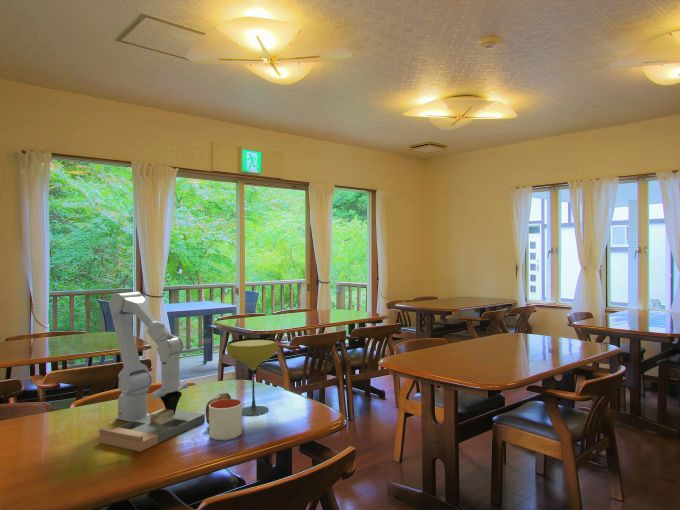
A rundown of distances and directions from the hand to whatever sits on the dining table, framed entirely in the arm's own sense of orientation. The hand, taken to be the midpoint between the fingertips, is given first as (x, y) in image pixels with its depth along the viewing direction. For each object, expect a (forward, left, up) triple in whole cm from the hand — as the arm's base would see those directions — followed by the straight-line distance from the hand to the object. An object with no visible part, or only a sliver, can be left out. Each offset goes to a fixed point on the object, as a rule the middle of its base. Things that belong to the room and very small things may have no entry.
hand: (171, 414), depth 157 cm
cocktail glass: (+17, +22, -3) cm, 28 cm away
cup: (+23, -1, -3) cm, 24 cm away
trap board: (0, -7, -3) cm, 8 cm away
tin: (+12, +9, -3) cm, 16 cm away
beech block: (0, -4, -1) cm, 4 cm away
